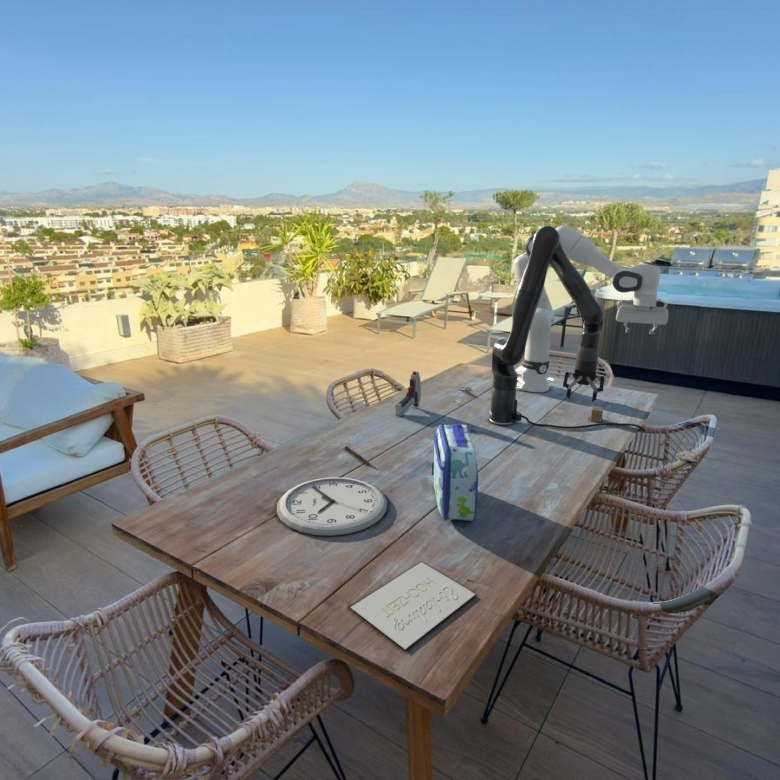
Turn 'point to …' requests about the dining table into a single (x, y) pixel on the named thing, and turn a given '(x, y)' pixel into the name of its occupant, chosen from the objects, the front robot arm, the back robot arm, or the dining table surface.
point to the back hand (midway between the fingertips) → (639, 333)
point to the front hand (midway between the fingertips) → (580, 399)
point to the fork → (464, 389)
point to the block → (596, 414)
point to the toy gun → (410, 395)
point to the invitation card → (412, 604)
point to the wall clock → (331, 506)
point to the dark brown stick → (357, 455)
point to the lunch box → (455, 472)
